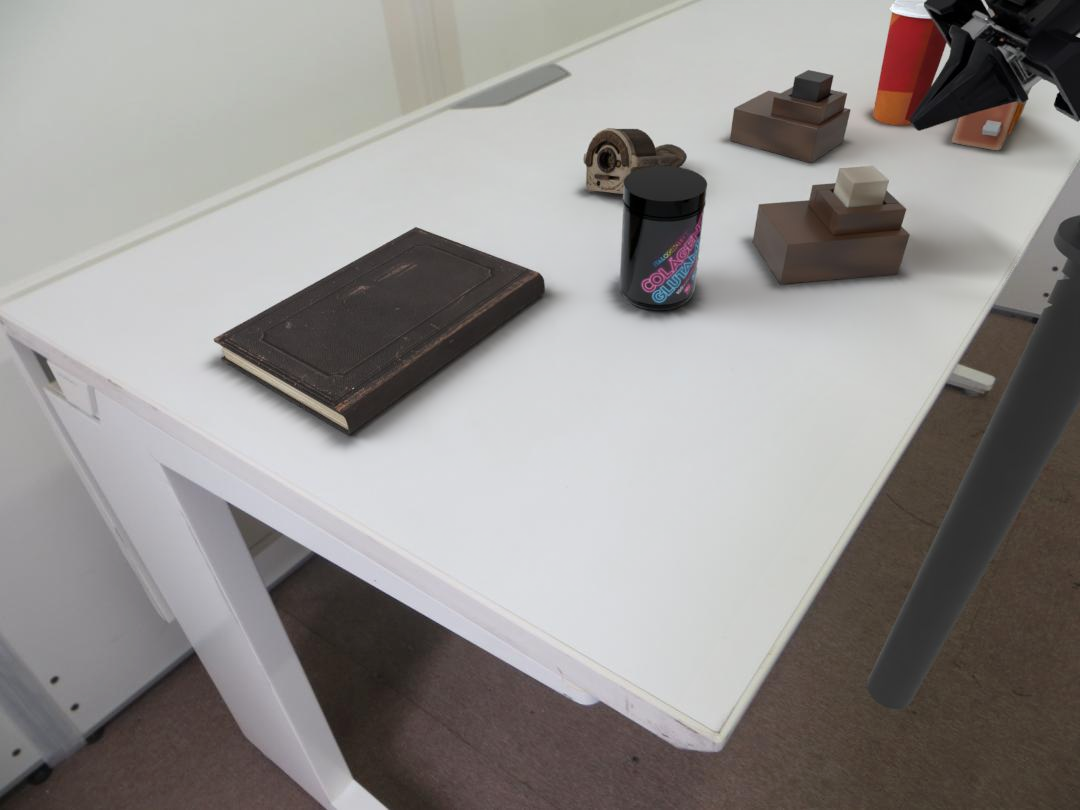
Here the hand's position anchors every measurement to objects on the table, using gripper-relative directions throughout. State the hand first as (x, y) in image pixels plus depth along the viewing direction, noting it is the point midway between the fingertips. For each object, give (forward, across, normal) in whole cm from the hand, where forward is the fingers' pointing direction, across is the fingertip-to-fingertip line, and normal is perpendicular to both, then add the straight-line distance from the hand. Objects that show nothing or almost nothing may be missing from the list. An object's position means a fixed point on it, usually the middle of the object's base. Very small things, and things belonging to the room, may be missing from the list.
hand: (913, 125), depth 64 cm
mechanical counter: (+22, -19, -5) cm, 29 cm away
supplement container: (+24, +4, -7) cm, 26 cm away
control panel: (-10, -27, +27) cm, 39 cm away
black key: (+3, -26, +6) cm, 27 cm away
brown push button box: (+12, 0, +5) cm, 13 cm away
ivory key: (+7, 0, +2) cm, 7 cm away
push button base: (+8, -28, +9) cm, 30 cm away
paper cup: (-4, -33, +21) cm, 39 cm away
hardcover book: (+41, +6, -23) cm, 48 cm away
